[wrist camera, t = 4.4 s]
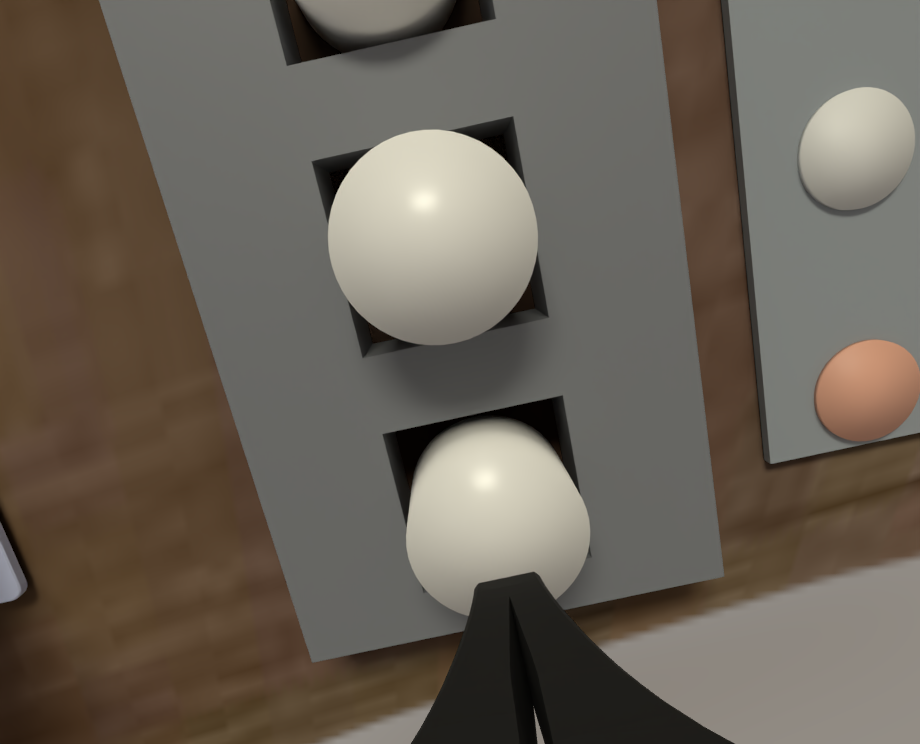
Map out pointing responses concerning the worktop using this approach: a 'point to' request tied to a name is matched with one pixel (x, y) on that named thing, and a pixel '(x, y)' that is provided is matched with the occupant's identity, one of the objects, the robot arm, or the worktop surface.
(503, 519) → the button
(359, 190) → the button middle
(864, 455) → the worktop surface
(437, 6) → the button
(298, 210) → the button board
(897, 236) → the pattern card
